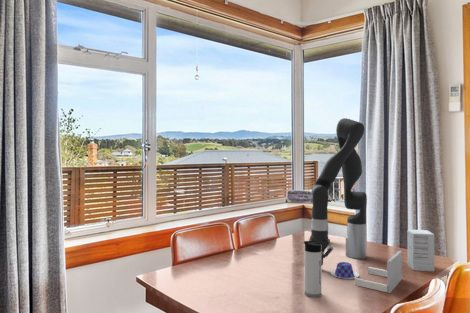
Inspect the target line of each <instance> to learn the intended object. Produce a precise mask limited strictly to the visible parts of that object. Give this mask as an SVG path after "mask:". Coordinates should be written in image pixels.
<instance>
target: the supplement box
mask: <svg viewBox="0 0 470 313" xmlns="http://www.w3.org/2000/svg"><path fill="white" fill-rule="evenodd" d="M406 264H407V265H408V266H409V267H410V269H411V270H412V271H422V272H435V234H434V233H433V232H431V231H430V230H427V229H407V262H406Z"/></svg>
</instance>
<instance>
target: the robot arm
mask: <svg viewBox="0 0 470 313" xmlns="http://www.w3.org/2000/svg"><path fill="white" fill-rule="evenodd" d="M335 132H336V138H337V142H338V147H339V150H338V151H337V152H336V153H334V154H333V155H331V156H330V157H329V158H328V159H327V161H326V162H325V164H324V166H323V167H322V170H321V172H320V174H319V176H318V177H317V179H316V181H315V183H314V184H313V185H312V188H311V189H312V193H311V195H312V208H311V222H310V223H311V227H310V228H311V232H310V233H311V235H310V236H311V238H312V239H311V241H313V242H318V243H320V244H321V267H322V266H323V265H324V259H325V258H327V257H328V256H329V255H330V254H331V253H332V252H333V251H334V247H332V246H331V245H330V242H328V239H329V221H328V219H329V218H328V215H329V214H328V213H329V212H328V204H329V202H328V199H329V198H328V194H329V189H330V187H331V185H332V184H333V183H334V182H335V181H336V179H337V177H338V175H339V173H340V171H341V173H342V180H343V201H344V207H345V208H346V209H348V210H357V211H359V212H358V213H356V214H355V213H354V214H353V215H349V216H348V217H347V218H346V220H347V222H346V223H347V226H346V227H347V228H346V229H347V230H346V237H345V256H346V257H348V258H352V259H356V260H358V259H360V260H361V259H366V257H367V203H368V201H367V200H368V196H367V193H366V192H365V191H352V188H353V187H354V185H355V184H356V183H357V182H358V181H359V179H360V178H361V176H362V174H363V166H362V160H361V157H360V156H359V153H358V152H357V150H356V149H355V148H356V147H357V145H358V144H359V142H360V141H361V140H362V138H363V136H364V134H365V126H364V123H362V122H359V121H357V120H354V119H350V118H341V119H340V120H338V121H337V125H336V128H335ZM325 250H326V251H325Z"/></svg>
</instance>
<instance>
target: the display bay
mask: <svg viewBox="0 0 470 313" xmlns="http://www.w3.org/2000/svg"><path fill="white" fill-rule="evenodd" d="M402 270H403V250H398V251H397V252H395V254H393V255H392V256H391V257H390V258H389V259H388V260H387V262H386V269H382V268H377V267H370V266H368V268H367V273H368V274H370V275H375V276H380V277H386V284H385V283H380V282H377V281H376V282H375V281H373V280H366V279H362V278H359V277H357V278H354V286H359V287H362V288H367V289H371V290H375V291H379V292H383V293H388V294H391V293H392V291H394V289H395V288H396V287H397V286H398V284H399V283H400V282H401V281H402V280H403V271H402Z"/></svg>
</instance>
